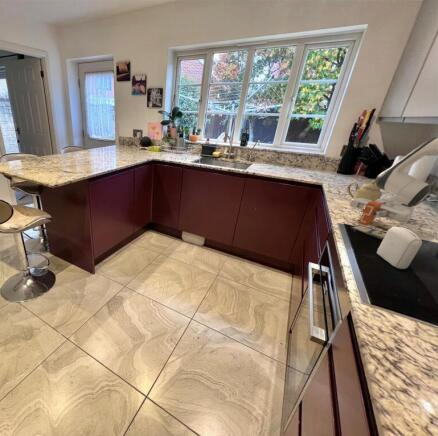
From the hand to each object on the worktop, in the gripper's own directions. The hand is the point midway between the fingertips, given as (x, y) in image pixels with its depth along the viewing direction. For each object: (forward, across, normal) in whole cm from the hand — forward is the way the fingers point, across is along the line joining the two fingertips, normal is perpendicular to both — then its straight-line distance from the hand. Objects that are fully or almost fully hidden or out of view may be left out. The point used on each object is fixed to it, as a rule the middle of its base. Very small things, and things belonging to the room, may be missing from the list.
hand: (369, 211), depth 100 cm
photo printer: (+18, +17, +10) cm, 27 cm away
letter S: (-1, 0, +6) cm, 6 cm away
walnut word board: (-13, +3, +9) cm, 16 cm away
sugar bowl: (-43, -20, +10) cm, 48 cm away
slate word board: (-1, +6, +9) cm, 11 cm away
